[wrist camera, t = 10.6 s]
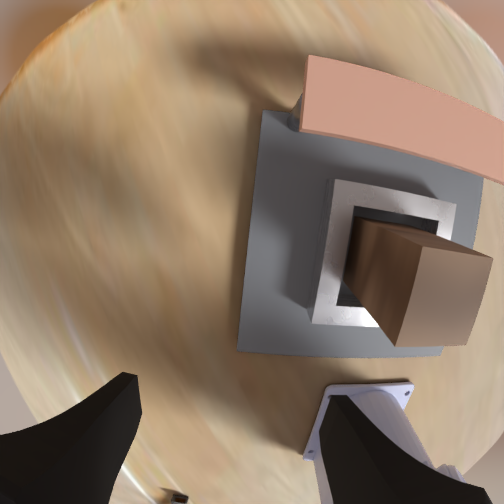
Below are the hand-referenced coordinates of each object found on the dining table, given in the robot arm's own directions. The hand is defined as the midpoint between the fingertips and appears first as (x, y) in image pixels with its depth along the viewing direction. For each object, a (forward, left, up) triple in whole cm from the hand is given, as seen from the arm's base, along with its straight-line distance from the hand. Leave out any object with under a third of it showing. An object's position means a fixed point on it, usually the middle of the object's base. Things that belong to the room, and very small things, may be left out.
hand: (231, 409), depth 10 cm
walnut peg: (+5, -8, -9) cm, 13 cm away
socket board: (+5, -8, -10) cm, 14 cm away
